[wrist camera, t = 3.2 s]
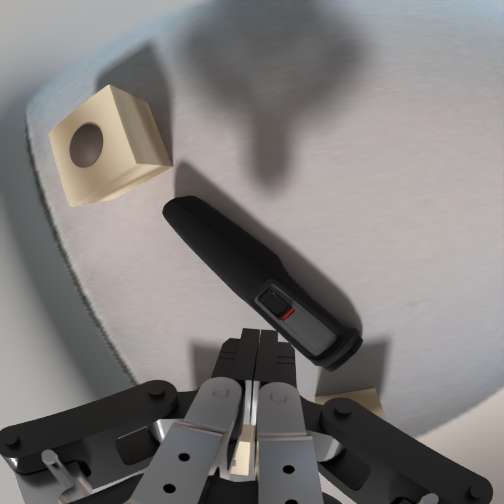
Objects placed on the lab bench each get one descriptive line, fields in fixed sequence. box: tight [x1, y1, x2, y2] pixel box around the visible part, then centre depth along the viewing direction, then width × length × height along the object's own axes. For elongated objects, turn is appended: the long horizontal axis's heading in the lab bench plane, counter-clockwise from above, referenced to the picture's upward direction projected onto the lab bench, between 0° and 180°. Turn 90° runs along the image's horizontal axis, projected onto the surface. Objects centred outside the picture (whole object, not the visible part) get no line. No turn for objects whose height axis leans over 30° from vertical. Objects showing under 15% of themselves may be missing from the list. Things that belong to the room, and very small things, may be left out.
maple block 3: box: [315, 388, 387, 475], centre depth 18 cm, size 5×5×5 cm
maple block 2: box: [230, 410, 255, 475], centre depth 19 cm, size 5×5×5 cm
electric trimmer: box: [162, 196, 363, 372], centre depth 17 cm, size 4×16×3 cm, turn 47°
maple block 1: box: [49, 84, 173, 207], centre depth 15 cm, size 5×5×5 cm
